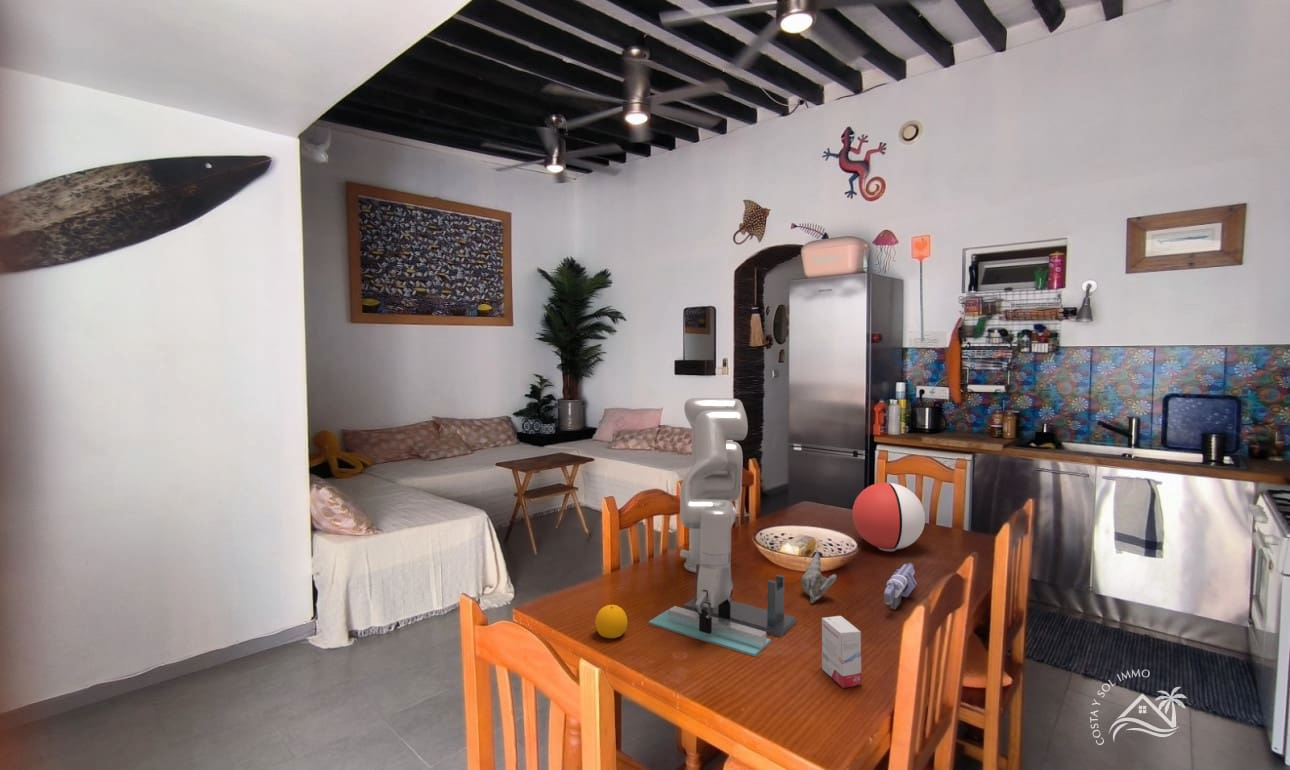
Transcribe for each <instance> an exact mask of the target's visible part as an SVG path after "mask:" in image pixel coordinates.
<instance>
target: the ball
mask: <svg viewBox="0 0 1290 770" xmlns="http://www.w3.org/2000/svg"><path fill="white" fill-rule="evenodd" d="M925 513H926V512H925V509H924V507H923V505H922V502H921V500H920V499H919V498H918V497H917V495H916V494H915V493H914V492H913V491H912V490H910V489H909V488H907V486H906V487H905V486H903V485H902V484H897V483H893V482H878V483H874V484H871V485H869V486H867V487H866V488H864V489H863V490H862V491H861V492H860V493H859V494H858V495H857V496H856V498H855V500H854V503H853V506H852V520H853V524H854V527H855V530H856V531H857V532H858V534H859V536H861V537H862V539H864V540H865V541H866V543H869V544H870V545H872V546H874V547H875V548H876V547H877V548H878V549H879V550H881V551H884V552H895V551H896V550H901V549H904V548H907V547H909V546H912V544H914V543H915V542H916V541H917V540H918V539H919V537H920V536H921V534H922V533H923V531H924V527H925V523H926V514H925Z"/></svg>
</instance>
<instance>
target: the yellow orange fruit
mask: <svg viewBox="0 0 1290 770" xmlns="http://www.w3.org/2000/svg"><path fill="white" fill-rule="evenodd" d="M594 623H595V628H596V631H597V632H598V634H599V635H600V636H601V637H603V638H606V639H617V638H619V637H622V635H624V633H625V632H626V630H627V627H628V618H627V614H626V612H625V610H624V609H623V608H622V607H620V606H618V605H617V604H606V605H605V606H603V607H602V608H600V610H599V611H598V612H597V614H596V616H595V622H594Z"/></svg>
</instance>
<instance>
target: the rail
mask: <svg viewBox="0 0 1290 770" xmlns="http://www.w3.org/2000/svg"><path fill="white" fill-rule="evenodd" d="M667 610H668V621H670V622H673V623H676V624H680V625H683V626H686V627H690V628H693V629H696V630H699V616H698V613H697V612H694V611H691V610H687V609H684V607H680V606H676V605H674V606H672V607H670V608H669V609H667ZM710 617H712V616H710ZM711 634H713V635H716V636H719V637H723V638H726V639H729V640H733V641H736V642H739V643H743V644H746V645H749V646H752V647H756V648H759V649H761V648H762V647H764V646H765V645H766V638H767V633H766V632H765V631H761V630H758V629H754V628H751V627H747V626H744V625H740V624H737V623H733V622H730V621H726V620H723V619H719V618H716V617H712V633H711Z"/></svg>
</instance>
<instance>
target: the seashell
mask: <svg viewBox="0 0 1290 770" xmlns="http://www.w3.org/2000/svg"><path fill="white" fill-rule="evenodd" d="M821 564H822V563H821V553H820V551H816V552H815V554H814V556H813V557H812V558H811V561H810V563H809V565H808V566H807V567H806V568H805V573H804V574H803V575H802V577H801V587H802V590H803V592H804V593H805V594H806V595H808V596H809V597H810V599H809V600H810V604H814V603H815V602H816V601H817V600H820V599H821V598H822V597H823V596H824V595H826V593H827V591H828V589H829V588H831V586H832V585H833V584H835V581H837V577H838V576H837V575H836V574H835V573H834V574H832V575H829V577H828V578H827V577H825V576H823V574H822V567H821Z"/></svg>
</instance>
